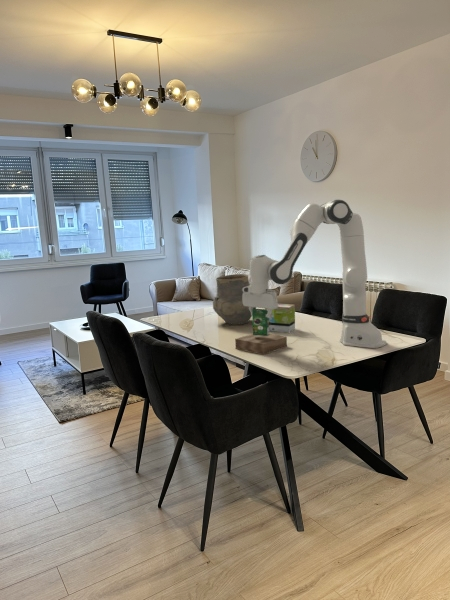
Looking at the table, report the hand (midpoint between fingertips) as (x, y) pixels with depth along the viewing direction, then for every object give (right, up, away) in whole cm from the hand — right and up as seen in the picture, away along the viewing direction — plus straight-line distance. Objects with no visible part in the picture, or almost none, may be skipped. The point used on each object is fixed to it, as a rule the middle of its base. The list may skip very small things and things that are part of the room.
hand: (260, 316), depth 224 cm
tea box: (+14, -9, +39) cm, 42 cm away
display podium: (+1, -15, +2) cm, 16 cm away
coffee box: (0, -9, +2) cm, 10 cm away
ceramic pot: (-10, -6, +65) cm, 66 cm away
